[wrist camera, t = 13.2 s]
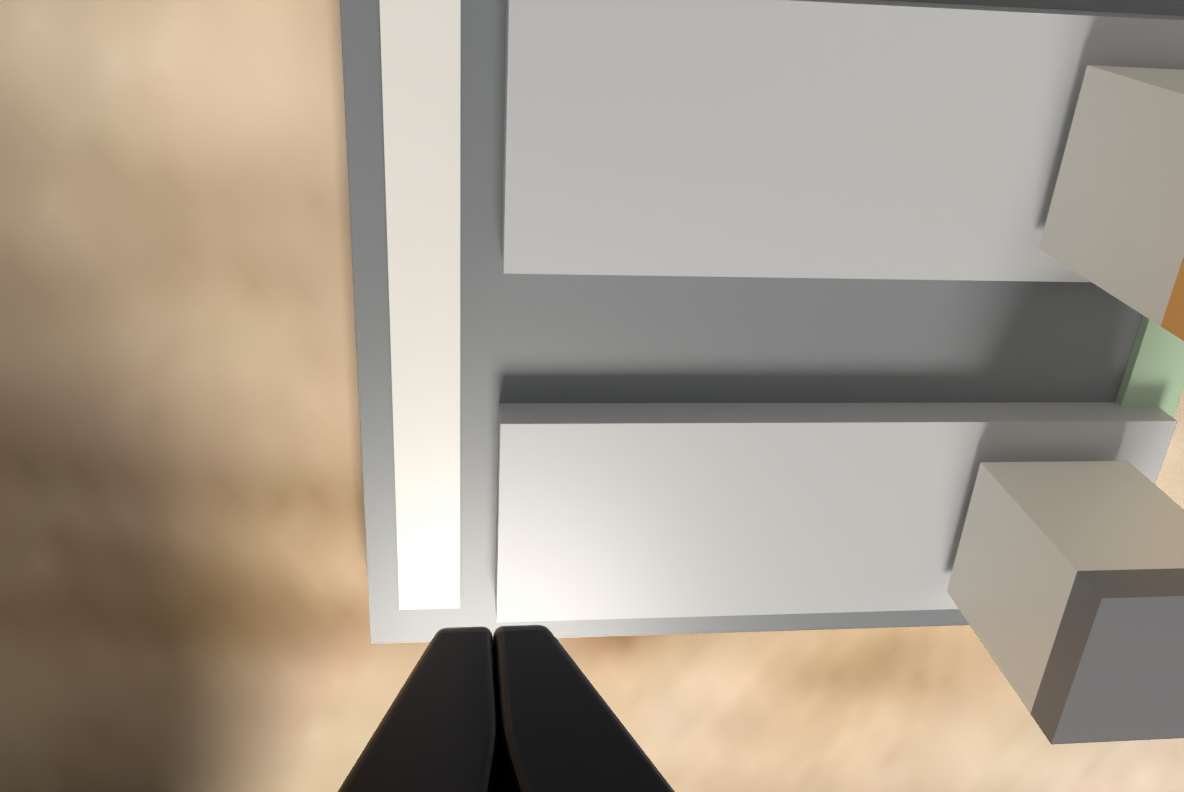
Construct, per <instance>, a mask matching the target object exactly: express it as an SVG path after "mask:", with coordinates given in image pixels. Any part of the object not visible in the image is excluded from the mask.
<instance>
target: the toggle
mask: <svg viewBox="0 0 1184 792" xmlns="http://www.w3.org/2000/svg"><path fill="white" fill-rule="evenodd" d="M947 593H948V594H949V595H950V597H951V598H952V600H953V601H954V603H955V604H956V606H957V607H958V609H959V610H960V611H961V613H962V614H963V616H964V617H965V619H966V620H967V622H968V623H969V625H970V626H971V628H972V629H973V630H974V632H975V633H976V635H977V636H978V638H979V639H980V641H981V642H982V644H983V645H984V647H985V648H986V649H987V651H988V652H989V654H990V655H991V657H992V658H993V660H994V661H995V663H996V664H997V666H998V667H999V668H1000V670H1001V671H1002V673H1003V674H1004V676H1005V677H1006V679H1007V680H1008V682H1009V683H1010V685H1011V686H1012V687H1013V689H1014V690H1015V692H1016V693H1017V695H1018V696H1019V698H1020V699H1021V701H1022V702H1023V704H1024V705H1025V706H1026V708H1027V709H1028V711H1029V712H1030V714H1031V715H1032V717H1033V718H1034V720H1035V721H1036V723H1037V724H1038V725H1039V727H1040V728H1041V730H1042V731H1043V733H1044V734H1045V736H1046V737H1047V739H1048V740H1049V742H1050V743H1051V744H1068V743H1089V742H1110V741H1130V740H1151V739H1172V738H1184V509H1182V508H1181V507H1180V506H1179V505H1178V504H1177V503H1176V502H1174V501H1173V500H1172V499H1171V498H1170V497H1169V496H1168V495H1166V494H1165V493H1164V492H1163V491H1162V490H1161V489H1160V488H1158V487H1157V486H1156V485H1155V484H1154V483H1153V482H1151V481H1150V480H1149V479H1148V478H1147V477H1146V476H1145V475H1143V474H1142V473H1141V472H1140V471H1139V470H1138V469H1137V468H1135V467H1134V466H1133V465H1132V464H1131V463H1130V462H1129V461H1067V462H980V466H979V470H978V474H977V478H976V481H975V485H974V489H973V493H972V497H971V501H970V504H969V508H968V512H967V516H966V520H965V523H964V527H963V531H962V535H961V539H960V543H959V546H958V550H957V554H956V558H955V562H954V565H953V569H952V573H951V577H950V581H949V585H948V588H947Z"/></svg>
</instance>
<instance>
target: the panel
mask: <svg viewBox="0 0 1184 792" xmlns="http://www.w3.org/2000/svg"><path fill="white" fill-rule="evenodd" d="M340 15H341V36H342V56H343V77H344V97H345V118H346V139H347V159H348V180H349V200H350V221H351V242H352V262H353V283H354V303H355V324H356V345H357V365H358V386H359V406H360V427H361V448H362V468H363V489H364V509H365V530H366V551H367V571H368V592H369V612H370V633H371V644H381V643H413V642H431V640H432V639H433V637H434V636H435V634H436V633H437V632H438V631H439V630H441V629H443V628H448V627H482V626H483V627H487V628H488V629H490V631H491V632H492V636H493V634H494V632H495V630H496V629H497V628H498V627H500V626H515V625H543V626H545V627H547V628H548V629H549V630H550V631H551V632H552V634H553V635H554V636H555V638H571V637H603V636H635V635H666V634H698V633H730V632H762V631H793V630H825V629H857V628H888V627H920V626H952V625H969V623H968V622H967V620H966V619H965V617H964V616H963V614H962V613H961V611H960V610H959V609H958V607H957V606H956V604H955V603H954V601H953V600H952V598H951V597H950V595H949V594H948V593H947V588H948V585H949V581H950V577H951V573H952V569H953V565H954V562H955V558H956V554H957V550H958V546H959V543H960V539H961V535H962V531H963V527H964V523H965V520H966V516H967V512H968V508H969V504H970V501H971V497H972V493H973V489H974V485H975V481H976V478H977V474H978V470H979V466H980V462H1067V461H1129V462H1130V463H1131V464H1132V465H1133V466H1134V467H1135V468H1137V469H1138V470H1139V471H1140V472H1141V473H1142V474H1143V475H1145V476H1146V477H1147V478H1148V479H1149V480H1150V481H1151V482H1153V483H1154V484H1155V483H1156V480H1157V477H1158V474H1159V472H1160V469H1161V466H1162V463H1163V460H1164V457H1165V455H1166V452H1167V449H1168V446H1169V443H1170V440H1171V438H1172V435H1173V432H1174V429H1175V426H1176V424H1177V421H1176V420H1175V419H1174V418H1173V417H1174V414H1175V411H1176V408H1177V405H1178V403H1179V400H1180V397H1181V394H1182V391H1183V388H1184V341H1183V340H1181V339H1179V338H1178V337H1176V336H1175V335H1173V334H1172V333H1170V332H1169V331H1167V330H1165V329H1164V328H1162V327H1161V326H1159V325H1158V324H1156V323H1154V322H1153V321H1151V320H1150V319H1148V318H1147V317H1145V316H1144V315H1142V314H1140V313H1139V312H1137V311H1136V310H1134V309H1133V308H1131V307H1129V306H1128V305H1126V304H1125V303H1123V302H1122V301H1120V300H1119V299H1117V298H1115V297H1114V296H1112V295H1111V294H1109V293H1108V292H1106V291H1104V290H1103V289H1101V288H1100V287H1098V286H1097V285H1095V284H1094V283H1092V282H1090V281H1089V280H1087V279H1086V278H1084V277H1083V276H1081V275H1079V274H1078V273H1076V272H1075V271H1073V270H1072V269H1070V268H1069V267H1067V266H1065V265H1064V264H1062V263H1061V262H1059V261H1058V260H1056V259H1054V258H1053V257H1051V256H1050V255H1048V254H1047V253H1045V252H1044V251H1042V250H1040V249H1039V246H1040V242H1041V239H1042V235H1043V231H1044V227H1045V223H1046V220H1047V216H1048V212H1049V208H1050V204H1051V201H1052V197H1053V193H1054V189H1055V185H1056V182H1057V178H1058V174H1059V170H1060V166H1061V163H1062V159H1063V155H1064V151H1065V147H1066V144H1067V140H1068V136H1069V132H1070V128H1071V125H1072V121H1073V117H1074V113H1075V109H1076V106H1077V102H1078V98H1079V94H1080V90H1081V87H1082V83H1083V79H1084V75H1085V71H1086V68H1087V65H1091V66H1114V67H1136V68H1159V69H1181V70H1184V0H340Z"/></svg>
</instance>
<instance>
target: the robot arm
mask: <svg viewBox="0 0 1184 792" xmlns="http://www.w3.org/2000/svg"><path fill="white" fill-rule="evenodd" d="M338 792H674V790H673V789H672V788H671V786H670V785H669V784H668V782H667V781H666V780H665V779H664V777H663V776H662V775H661V773H660V772H659V771H658V770H657V768H656V767H655V766H654V764H653V763H652V762H651V760H650V759H649V758H648V757H647V755H646V754H645V753H644V751H643V750H642V749H641V748H640V746H639V745H638V744H637V742H636V741H635V740H634V738H633V737H632V736H631V735H630V733H629V732H628V731H627V729H626V728H625V727H624V726H623V724H622V723H621V722H620V720H619V719H618V718H617V716H616V715H615V714H614V713H613V711H612V710H611V709H610V707H609V706H608V705H607V704H606V702H605V701H604V700H603V698H602V697H601V696H600V694H599V693H598V692H597V691H596V689H595V688H594V687H593V685H592V684H591V683H590V682H589V680H588V679H587V678H586V676H585V675H584V674H583V672H582V671H581V670H580V669H579V667H578V666H577V665H576V663H575V662H574V661H573V660H572V658H571V657H570V656H569V654H568V653H567V652H566V650H565V649H564V648H563V647H562V645H561V644H560V643H559V641H558V640H557V639H556V638H555V636H554V635H553V634H552V632H551V631H550V630H549V629H548V628H547V627H545V626H543V625H515V626H500V627H498V628H497V629H496V630H495V632H494V634H493V636H492V632H491V631H490V629H488V628H487V627H483V626H482V627H448V628H443V629H441V630H439V631H438V632H437V633H436V634H435V636H434V637H433V639H432V640H431V642H430V643H429V645H428V647H427V648H426V650H425V652H424V653H423V655H422V656H421V658H420V660H419V661H418V663H417V665H416V666H415V668H414V669H413V671H412V673H411V674H410V676H409V677H408V679H407V681H406V682H405V684H404V686H403V687H402V689H401V690H400V692H399V694H398V695H397V697H396V698H395V700H394V702H393V703H392V705H391V707H390V708H389V710H388V711H387V713H386V715H385V716H384V718H383V719H382V721H381V723H380V724H379V726H378V728H377V729H376V731H375V732H374V734H373V736H372V737H371V739H370V740H369V742H368V744H367V745H366V747H365V749H364V750H363V752H362V753H361V755H360V757H359V758H358V760H357V761H356V763H355V765H354V766H353V768H352V770H351V771H350V773H349V774H348V776H347V778H346V779H345V781H344V782H343V784H342V786H341V787H340V789H339V791H338Z"/></svg>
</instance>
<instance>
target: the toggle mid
mask: <svg viewBox="0 0 1184 792" xmlns="http://www.w3.org/2000/svg"><path fill="white" fill-rule="evenodd" d="M1039 249H1040V250H1042V251H1044V252H1045V253H1047V254H1048V255H1050V256H1051V257H1053V258H1054V259H1056V260H1058V261H1059V262H1061V263H1062V264H1064V265H1065V266H1067V267H1069V268H1070V269H1072V270H1073V271H1075V272H1076V273H1078V274H1079V275H1081V276H1083V277H1084V278H1086V279H1087V280H1089V281H1090V282H1092V283H1094V284H1095V285H1097V286H1098V287H1100V288H1101V289H1103V290H1104V291H1106V292H1108V293H1109V294H1111V295H1112V296H1114V297H1115V298H1117V299H1119V300H1120V301H1122V302H1123V303H1125V304H1126V305H1128V306H1129V307H1131V308H1133V309H1134V310H1136V311H1137V312H1139V313H1140V314H1142V315H1144V316H1145V317H1147V318H1148V319H1150V320H1151V321H1153V322H1154V323H1156V324H1158V325H1159V326H1161V327H1162V328H1164V329H1165V330H1167V331H1169V332H1170V333H1172V334H1173V335H1175V336H1176V337H1178V338H1179V339H1181V340H1183V341H1184V70H1181V69H1159V68H1136V67H1114V66H1091V65H1087V68H1086V71H1085V75H1084V79H1083V83H1082V87H1081V90H1080V94H1079V98H1078V102H1077V106H1076V109H1075V113H1074V117H1073V121H1072V125H1071V128H1070V132H1069V136H1068V140H1067V144H1066V147H1065V151H1064V155H1063V159H1062V163H1061V166H1060V170H1059V174H1058V178H1057V182H1056V185H1055V189H1054V193H1053V197H1052V201H1051V204H1050V208H1049V212H1048V216H1047V220H1046V223H1045V227H1044V231H1043V235H1042V239H1041V242H1040V246H1039Z"/></svg>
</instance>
